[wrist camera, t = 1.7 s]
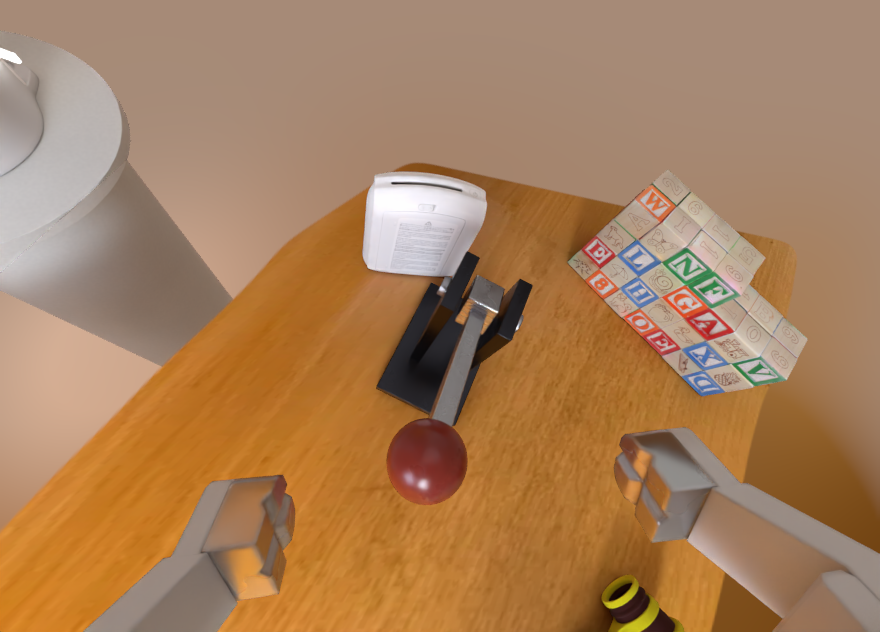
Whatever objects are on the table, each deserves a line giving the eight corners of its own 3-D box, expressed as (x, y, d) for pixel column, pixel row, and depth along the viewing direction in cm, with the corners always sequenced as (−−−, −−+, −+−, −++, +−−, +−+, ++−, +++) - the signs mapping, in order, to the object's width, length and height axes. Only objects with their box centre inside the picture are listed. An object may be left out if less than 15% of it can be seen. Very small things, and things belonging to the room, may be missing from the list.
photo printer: (456, 246, 42) (494, 170, 31) (458, 281, 41) (498, 213, 30) (363, 237, 40) (367, 151, 29) (361, 273, 39) (364, 197, 28)
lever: (437, 529, 17) (471, 503, 14) (364, 494, 17) (386, 462, 14) (494, 321, 28) (518, 287, 26) (451, 299, 28) (471, 262, 26)
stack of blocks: (723, 362, 45) (847, 330, 34) (699, 397, 42) (825, 376, 31) (593, 235, 47) (669, 166, 36) (564, 262, 45) (635, 196, 34)
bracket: (452, 426, 36) (513, 408, 22) (375, 388, 35) (390, 346, 22) (495, 321, 40) (568, 252, 27) (429, 286, 40) (468, 199, 26)
